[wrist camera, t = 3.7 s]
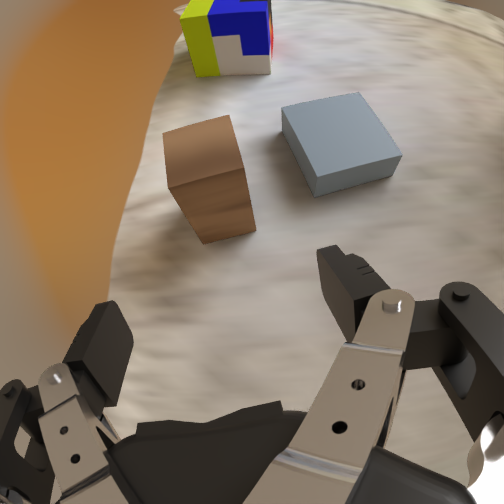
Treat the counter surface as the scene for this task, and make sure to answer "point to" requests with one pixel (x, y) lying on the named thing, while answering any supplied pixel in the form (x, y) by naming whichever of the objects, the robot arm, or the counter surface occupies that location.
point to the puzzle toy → (229, 36)
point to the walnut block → (209, 179)
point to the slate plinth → (339, 143)
